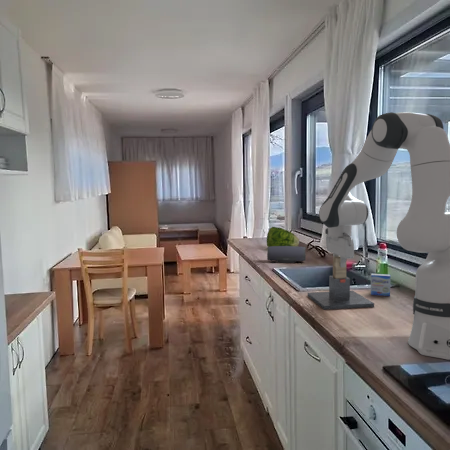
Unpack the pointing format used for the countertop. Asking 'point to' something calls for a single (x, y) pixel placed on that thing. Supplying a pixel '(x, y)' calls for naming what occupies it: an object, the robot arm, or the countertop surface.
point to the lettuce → (281, 237)
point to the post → (338, 269)
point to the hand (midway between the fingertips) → (339, 265)
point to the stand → (339, 296)
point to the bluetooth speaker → (286, 254)
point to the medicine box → (380, 284)
